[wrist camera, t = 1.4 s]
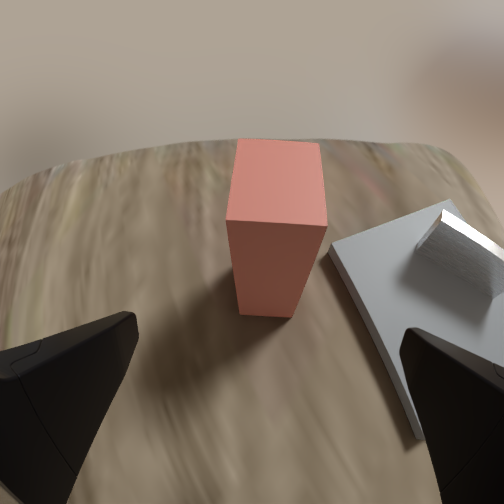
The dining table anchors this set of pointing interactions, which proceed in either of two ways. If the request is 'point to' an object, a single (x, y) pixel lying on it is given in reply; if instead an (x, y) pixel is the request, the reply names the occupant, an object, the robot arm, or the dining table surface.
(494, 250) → the bookend
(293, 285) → the boxed book
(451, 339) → the shelf board
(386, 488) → the dining table surface
